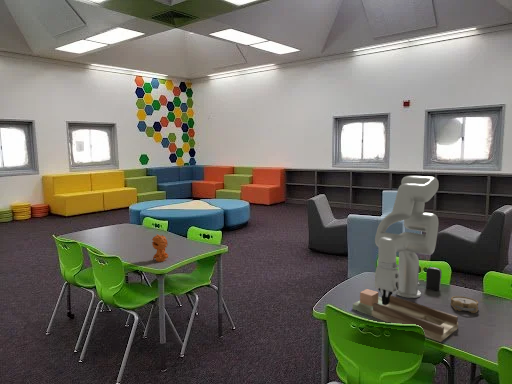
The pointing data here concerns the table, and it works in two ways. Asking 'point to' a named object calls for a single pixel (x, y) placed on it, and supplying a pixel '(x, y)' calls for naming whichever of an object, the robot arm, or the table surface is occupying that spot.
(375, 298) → the block
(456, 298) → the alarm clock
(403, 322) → the track
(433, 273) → the battery charger
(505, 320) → the table surface
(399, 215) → the robot arm
